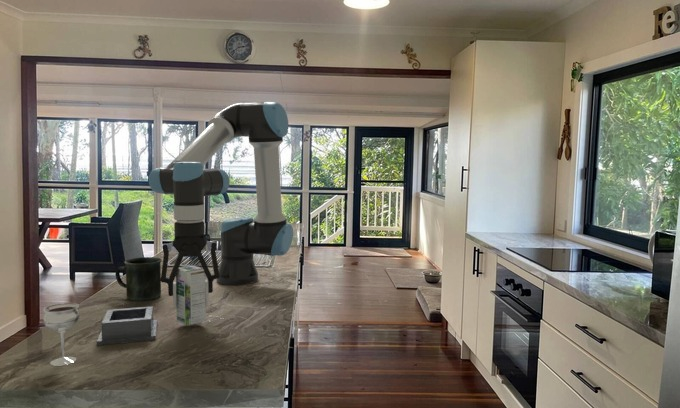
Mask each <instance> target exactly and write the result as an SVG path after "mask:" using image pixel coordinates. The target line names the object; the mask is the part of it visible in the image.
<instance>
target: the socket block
mask: <svg viewBox="0 0 680 408" xmlns="http://www.w3.org/2000/svg"><path fill="white" fill-rule="evenodd" d="M100 326H101V330H100V333H99V335H98V337H97V339H96V346H105V345H106V346H107V345H116V344H126V343H127V344H128V343H135V342H147V341H156V338H157V329H158V319H157V318H155V319H154V306H152V305H151V306H140V307H127V308H125V307H124V308H112V309H107V310H106V313H105V314H104V317H103V319H102V321H101V325H100Z"/></svg>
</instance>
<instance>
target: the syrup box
mask: <svg viewBox="0 0 680 408" xmlns="http://www.w3.org/2000/svg"><path fill="white" fill-rule="evenodd" d="M205 280H206V274H205V272H204V269H203V268H202V267H200V266H197V265H184V266H179V269H178V271H177V274H176V276H175V282H176V309H175V311H176V322H179V323H180V324H183V325H185V326H187V327H189V326H192V325H196V324H199V323H202V322H205V321H207V313H206V312H207V309H206V308H207V306H206V295H205Z"/></svg>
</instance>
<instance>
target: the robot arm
mask: <svg viewBox="0 0 680 408" xmlns="http://www.w3.org/2000/svg"><path fill="white" fill-rule="evenodd" d="M288 132H289V118H288V114H287V112H286V109H285V108H284V107H283V105H282V104H281V103H280V102H276V101H261V102H259V101H257V102H238V103H233V104H231V105H229V106H227V107H225V108H224V109H222V110H221V111H219V112H217V113H216V114H215V115H214V116H213V117H211V119H209V120H208V123H207V127H206V128H205V129H204V130H202V132H201V133H200V134H198V135H197V137H196V138H195V139H193V141H191V143H190V144H188V145H187V146H186V147H185V149H183V150H182V151H181V152H180V153H179V154H178V155H177V156H176V157H175V158H174V159H173V160H172V161H171V162H170V163H169V164H168V165H167V166H166V167H162V166H161V167H156V168H153V169H152V170H151V171H150V173H149V176H148V185H149V186H150V189H151V190H152V191H153V192H154V193H155V194H164V195H173V218H174V219H173V220H174V221H175V222H174V223H173V227H174V228H173V229H174V232H173V233H174V239H173V240H172V242H169V243H168V242H167V243H162V246H161V248H162V251H163V258H162V266H161V283H165V284H167V285H168V286H167V289H168V291H167V292H168V294H167V295H168V296H169V297H172V298H173V299H172V300H173V301H172V303H173V304H172V305H173V307H172V309H173V310H176V281H175V280H176V274H177V271H178V269H179V268H180V267H181V263H182V261H183V259H184V257H185V258H188V257H197V259H198V261H199V263H200V265H201V268H203V269H204V272H205V278H207V279H205V295H206V307H209V306H210V303H209V301H210V300H209V297H210V296H209V294H211V293H213V291H214V287H213V286H214V284H213V282H214V281H215V280H216V282H217V283H218V284H221V285H225V286H226V285H227V286H228V285H229V286H239V285H240V286H241V285H242V286H243V285H249V284H253V283H256V282H257V281H259V273H258V269H257V267H256V263H255V261H254V255H263V256H264V255H265V256H273V257H274V256H285V255H286V254H287V253H288V252H289V250H290V248H291V247H292V243H293V238H294V228H293V225H292V224H290V223H288V222H287V216H286V215H285V214H283V211H282V210H283V207H282V206H283V205H282V190H281V189H282V187H281V186H282V185H281V168H280V167H281V166H280V145H281V144H282V143H283V141H284V139H283V138H284V137H286V136H287V135H288ZM240 137H242V138H243V137H246V138H247V137H248V143H249V144H250V145H251V146H252V147H253V155H254V156H253V157H254V171H255V190H256V204H257V205H256V207H257V215H256V216H255V217H254V218H253V217H239V218H233V219H227V220H223V221H222V222H221V226H220V253H221V254H220V255H221V257H220V258H221V260H220V264H219V266H218V258H217V252H216V250H217V245H218V244H217V241H215V240H213V241H210V240H207V239H206V237H205V222H204V221H203V220H204V219H205V202H204V201H205V198H204V197H211V196H219V195H222V194H225V193H226V192H227V191H228V189H229V188H230V181H231V180H230V177H229V176H230V175H229V174H228V173H227V172H226V171H225V170H223V169H221V168H217V167H216V168H213V167H212V168H204V166H206V164H207V163H208V162H209V161H210V160H211V158H212V157H213V156H214V155H215V154H216V153H218V151H219V150H220V149H221V148H222V147H223V145H225V144H226V143H230V142H231V141H232V140H233V139H235V138H240ZM205 246H207V249H208V250H209V251H210V258H211V261H212V262H211V263H212V269H213V273H212V274H211V271H210V269H209V267H208V264H207V262H206V260H205V258H204V256H203V253H202V251H203V250H204V249H205ZM173 248H174V249H175V250H176V251H177V252H178V253H177V256H176V259H175V262H174V264H173V266H172V270H171V271H170V274H169V276H167V272H168V271H167V270H168V266H169V264H168V263H169V257H170V253H171V251H172V249H173Z"/></svg>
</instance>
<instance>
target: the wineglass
mask: <svg viewBox="0 0 680 408" xmlns="http://www.w3.org/2000/svg"><path fill="white" fill-rule="evenodd" d="M79 307H80V305H79V304H78V303H75V302H63V303H62V302H61V303H56V304H51V305H48V306H45V307H44V308H43V312H44V315H43V323H44V325H45V327H46V328H48V329H49V330H51V331H54V332H57V333H58V334H60V347H61V357H58V358H55V359H53V360H51V361H50V362H49V365H51V366H55V367H58V366H59V367H60V366H68V365H70V364H72V363H74V362H76V360H77V357H75V356H71V355H70V356H65V333H67V331H68V330H70V329H72V328H73V327H74V326H75V325H76V324H77V323H78V322H79V319H80V312H79V310H78V309H79Z"/></svg>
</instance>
